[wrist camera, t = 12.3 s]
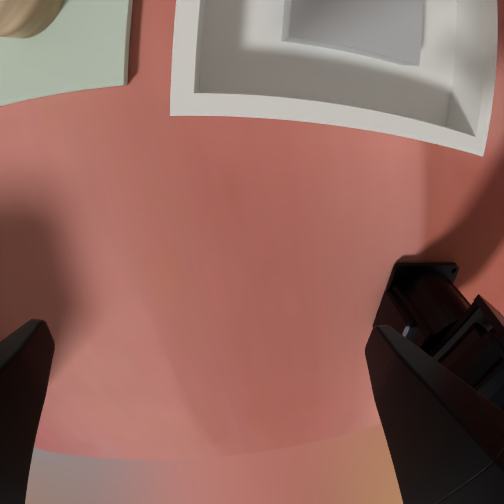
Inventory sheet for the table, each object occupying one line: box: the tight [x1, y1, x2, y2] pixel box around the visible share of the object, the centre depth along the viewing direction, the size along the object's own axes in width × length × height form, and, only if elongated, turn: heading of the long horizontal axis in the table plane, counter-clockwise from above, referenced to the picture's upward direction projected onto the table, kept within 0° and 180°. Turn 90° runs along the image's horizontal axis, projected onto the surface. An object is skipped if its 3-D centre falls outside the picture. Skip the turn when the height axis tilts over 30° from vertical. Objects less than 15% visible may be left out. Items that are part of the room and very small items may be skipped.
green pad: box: [0, 0, 133, 106], centre depth 11 cm, size 12×12×1 cm
